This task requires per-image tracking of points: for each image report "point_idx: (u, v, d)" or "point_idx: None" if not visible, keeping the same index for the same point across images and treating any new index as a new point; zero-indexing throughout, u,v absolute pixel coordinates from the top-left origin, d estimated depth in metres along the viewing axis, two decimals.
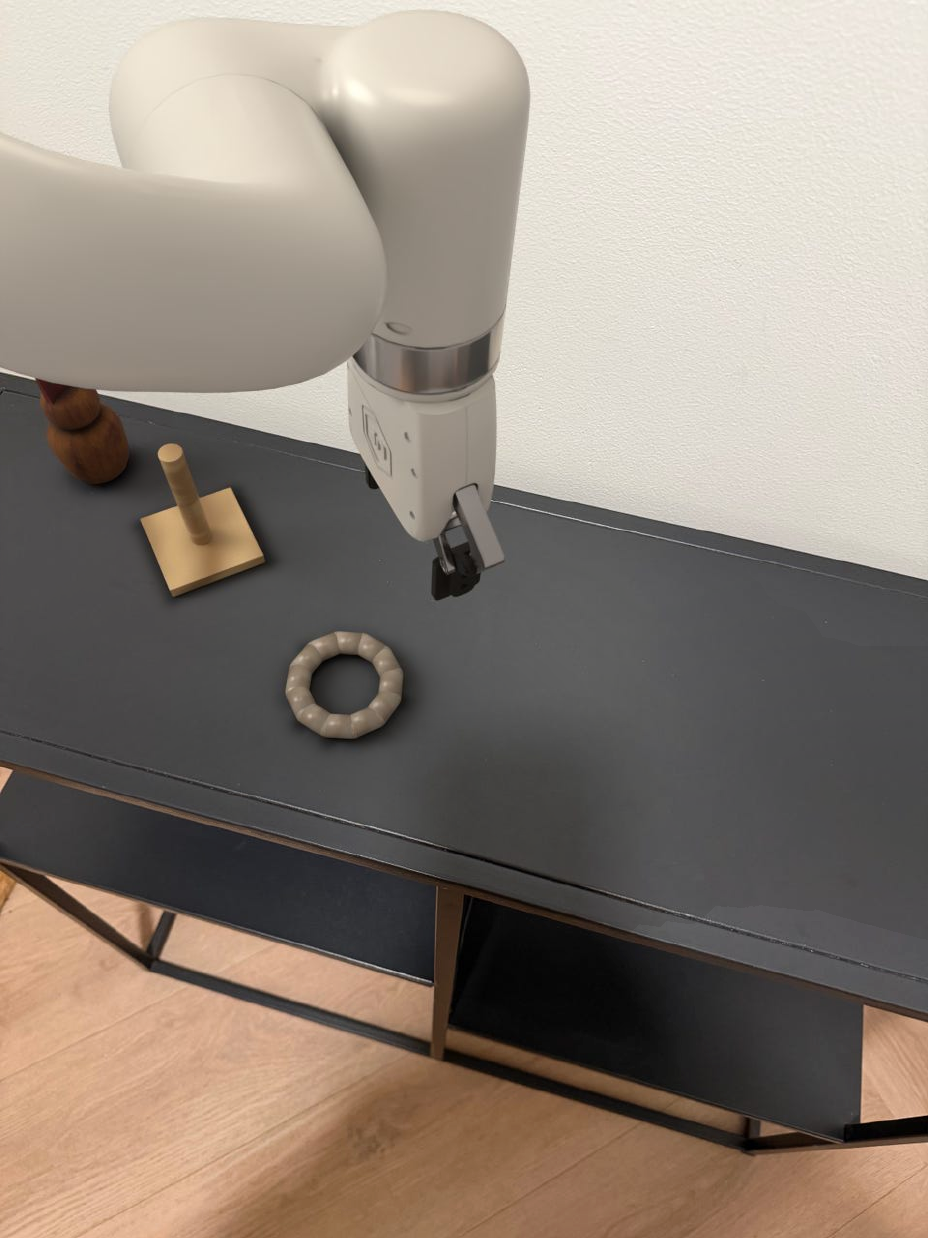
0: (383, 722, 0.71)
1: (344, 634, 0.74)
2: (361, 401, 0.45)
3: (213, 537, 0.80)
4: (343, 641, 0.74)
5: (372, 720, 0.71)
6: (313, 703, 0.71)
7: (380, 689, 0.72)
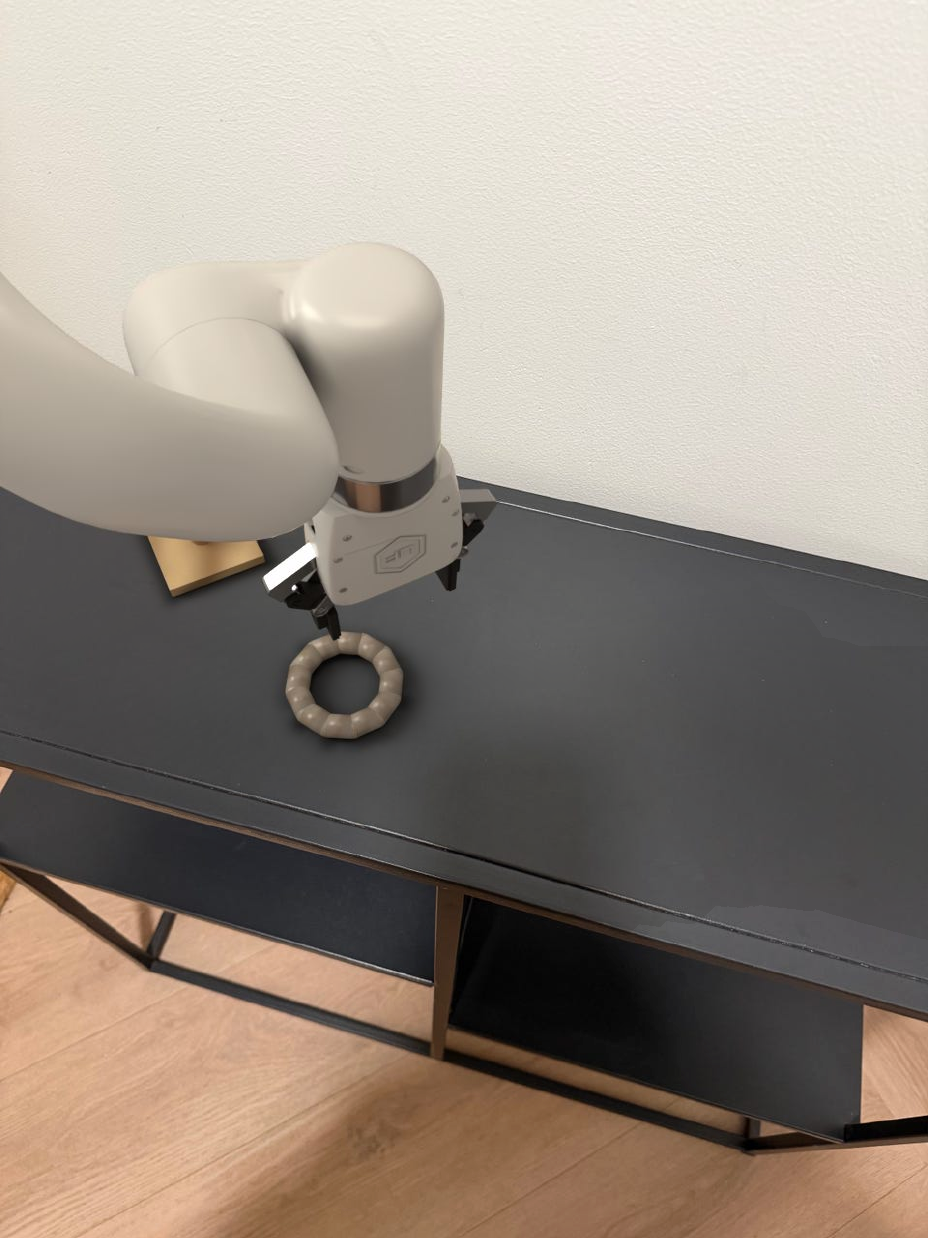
0: (383, 722, 0.71)
1: (344, 634, 0.74)
2: (373, 553, 0.53)
3: None
4: (343, 641, 0.74)
5: (372, 720, 0.71)
6: (313, 703, 0.71)
7: (380, 689, 0.72)
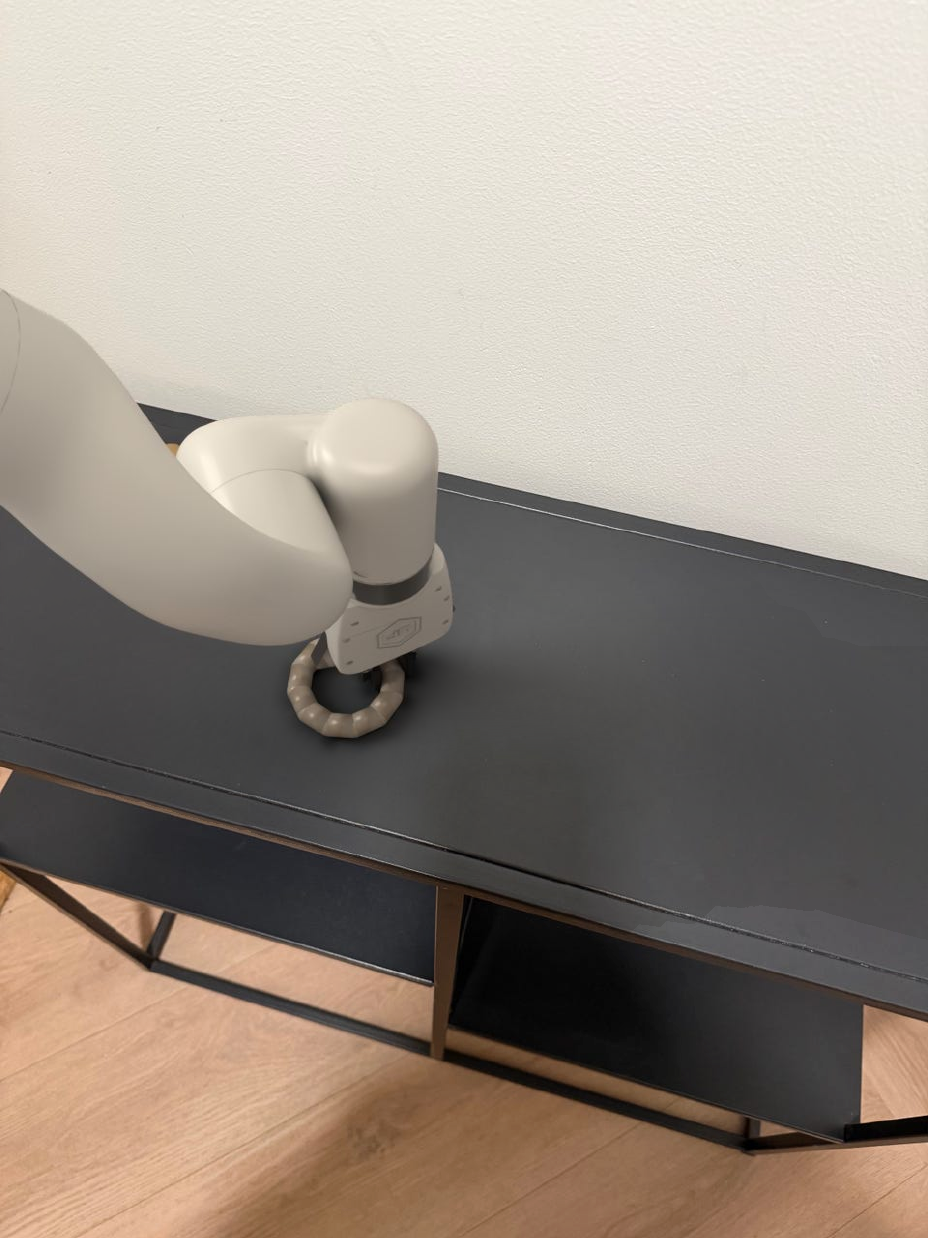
0: (385, 721, 0.71)
1: None
2: (375, 634, 0.62)
3: None
4: None
5: (374, 719, 0.71)
6: (315, 702, 0.71)
7: (382, 688, 0.72)
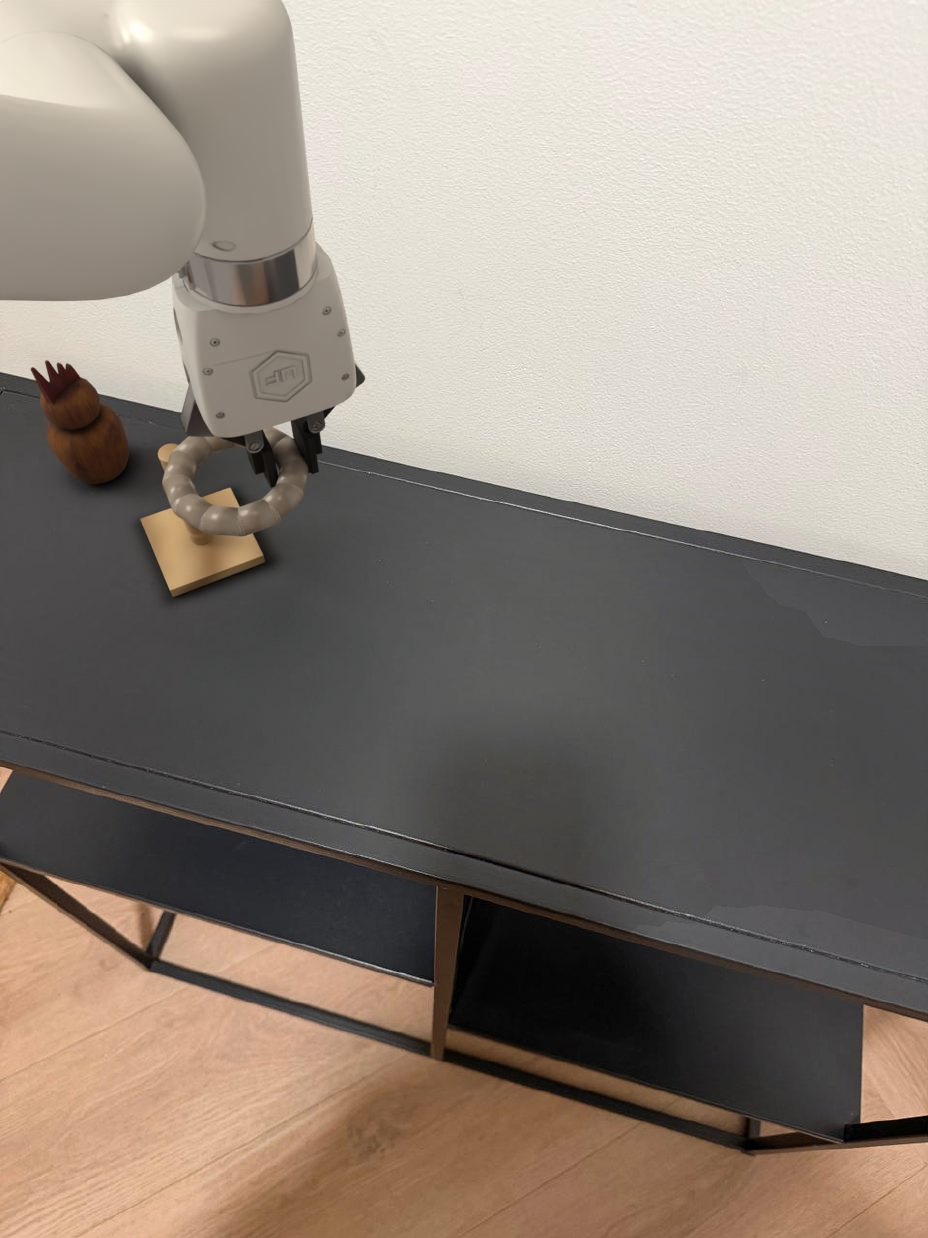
0: (278, 517, 0.58)
1: None
2: (248, 369, 0.49)
3: (213, 537, 0.80)
4: None
5: (264, 512, 0.58)
6: (194, 493, 0.58)
7: (278, 481, 0.59)
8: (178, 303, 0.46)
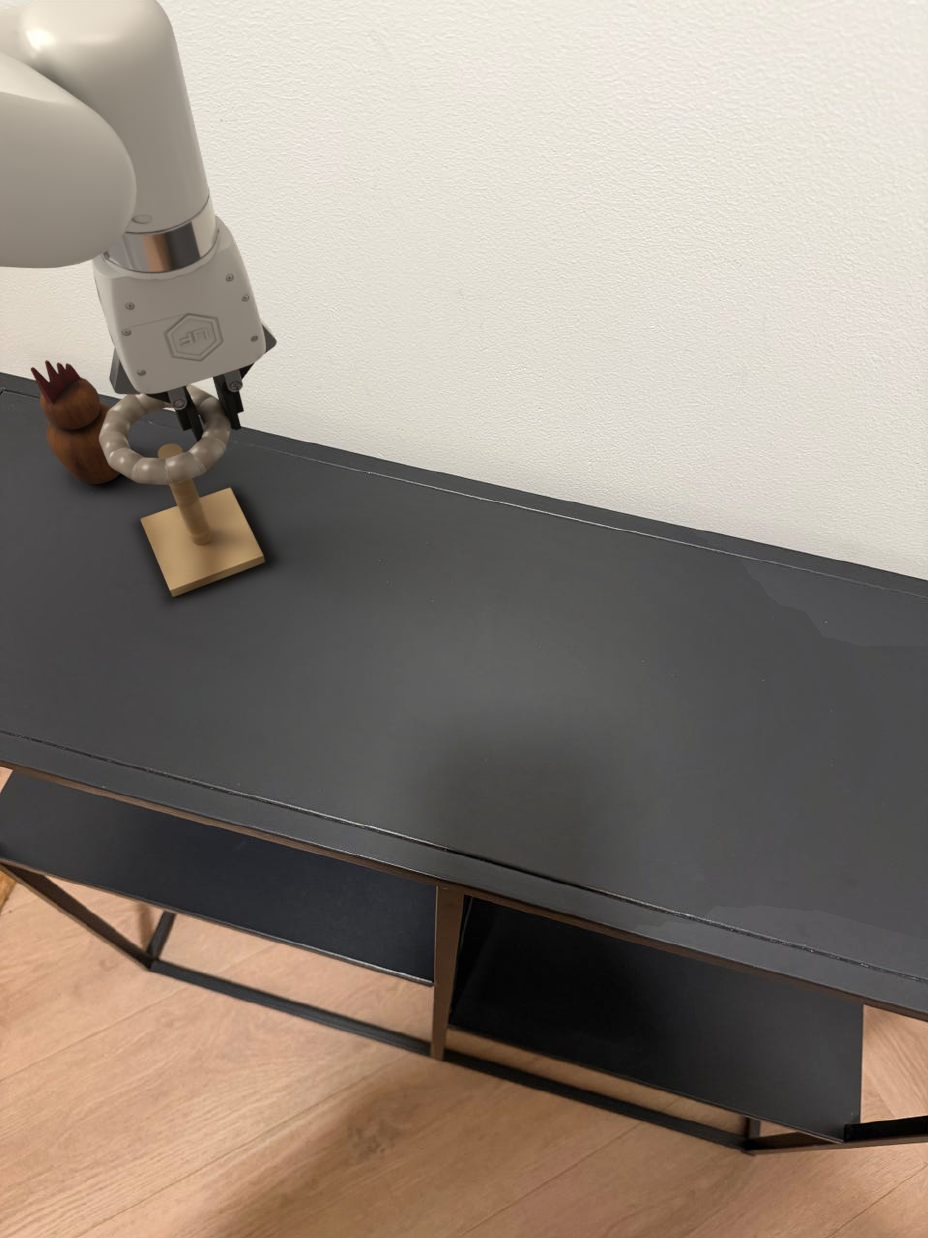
0: (203, 467, 0.65)
1: None
2: (162, 330, 0.56)
3: (213, 537, 0.80)
4: None
5: (189, 462, 0.65)
6: (127, 447, 0.65)
7: (202, 435, 0.67)
8: (96, 271, 0.53)
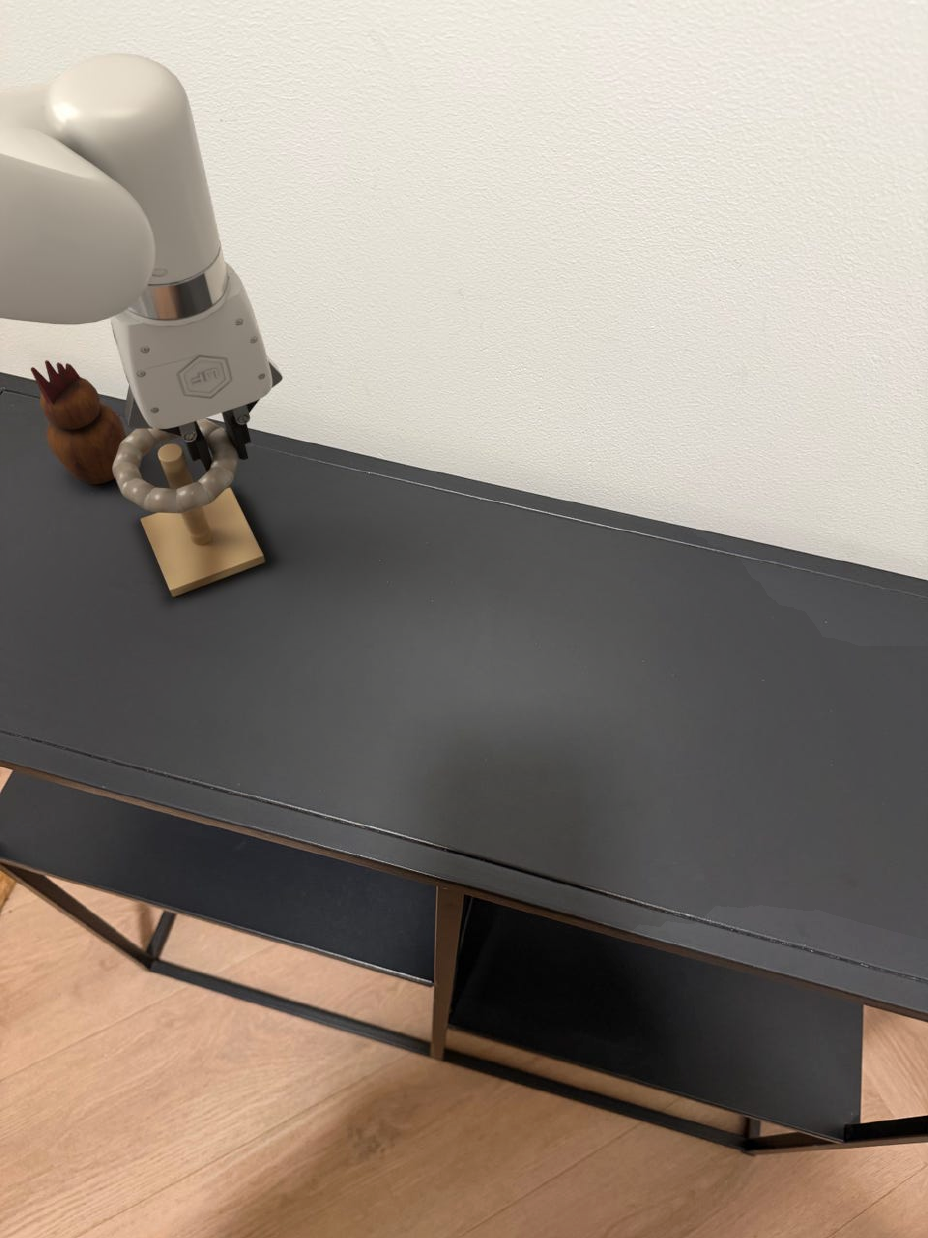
0: (212, 496, 0.68)
1: None
2: (175, 371, 0.59)
3: (213, 537, 0.80)
4: None
5: (199, 492, 0.68)
6: (139, 478, 0.69)
7: (211, 466, 0.70)
8: (113, 318, 0.56)
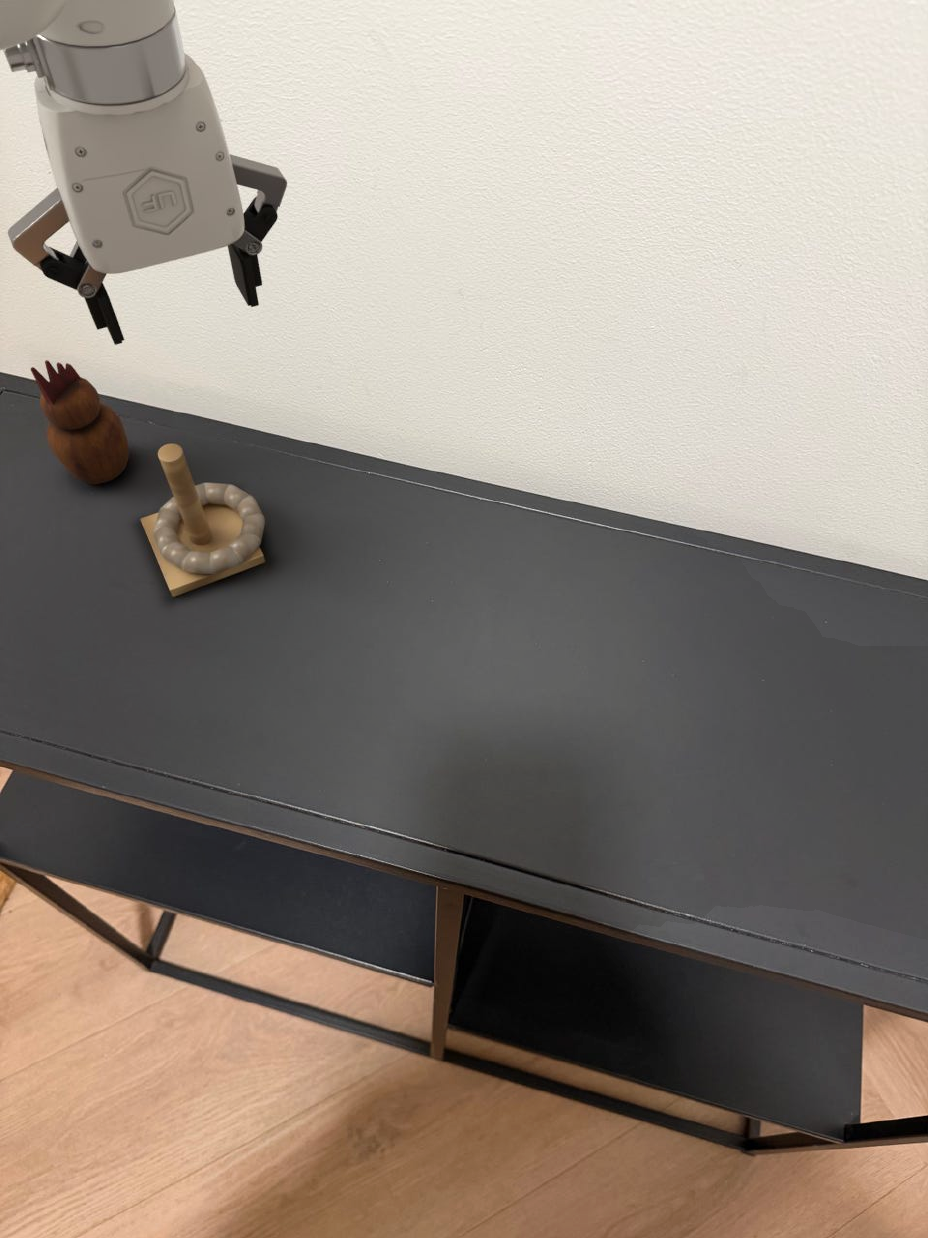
0: (241, 559, 0.77)
1: (212, 484, 0.80)
2: (121, 188, 0.48)
3: (213, 537, 0.80)
4: (210, 490, 0.80)
5: (230, 556, 0.76)
6: (177, 541, 0.77)
7: (241, 531, 0.78)
8: (39, 106, 0.44)
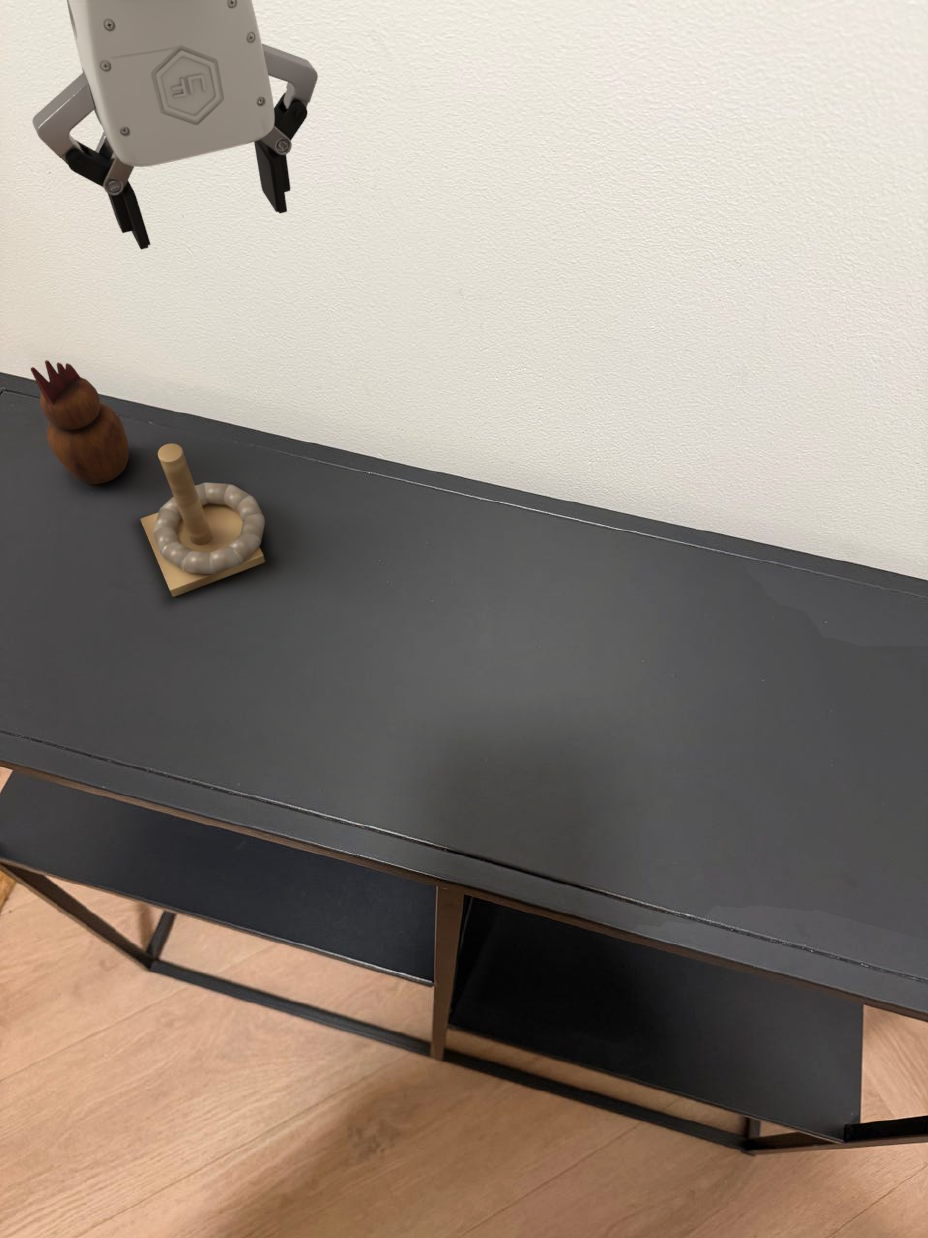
0: (241, 559, 0.77)
1: (212, 484, 0.80)
2: (150, 68, 0.46)
3: (213, 537, 0.80)
4: (210, 490, 0.80)
5: (230, 556, 0.76)
6: (177, 541, 0.77)
7: (241, 531, 0.78)
8: None
